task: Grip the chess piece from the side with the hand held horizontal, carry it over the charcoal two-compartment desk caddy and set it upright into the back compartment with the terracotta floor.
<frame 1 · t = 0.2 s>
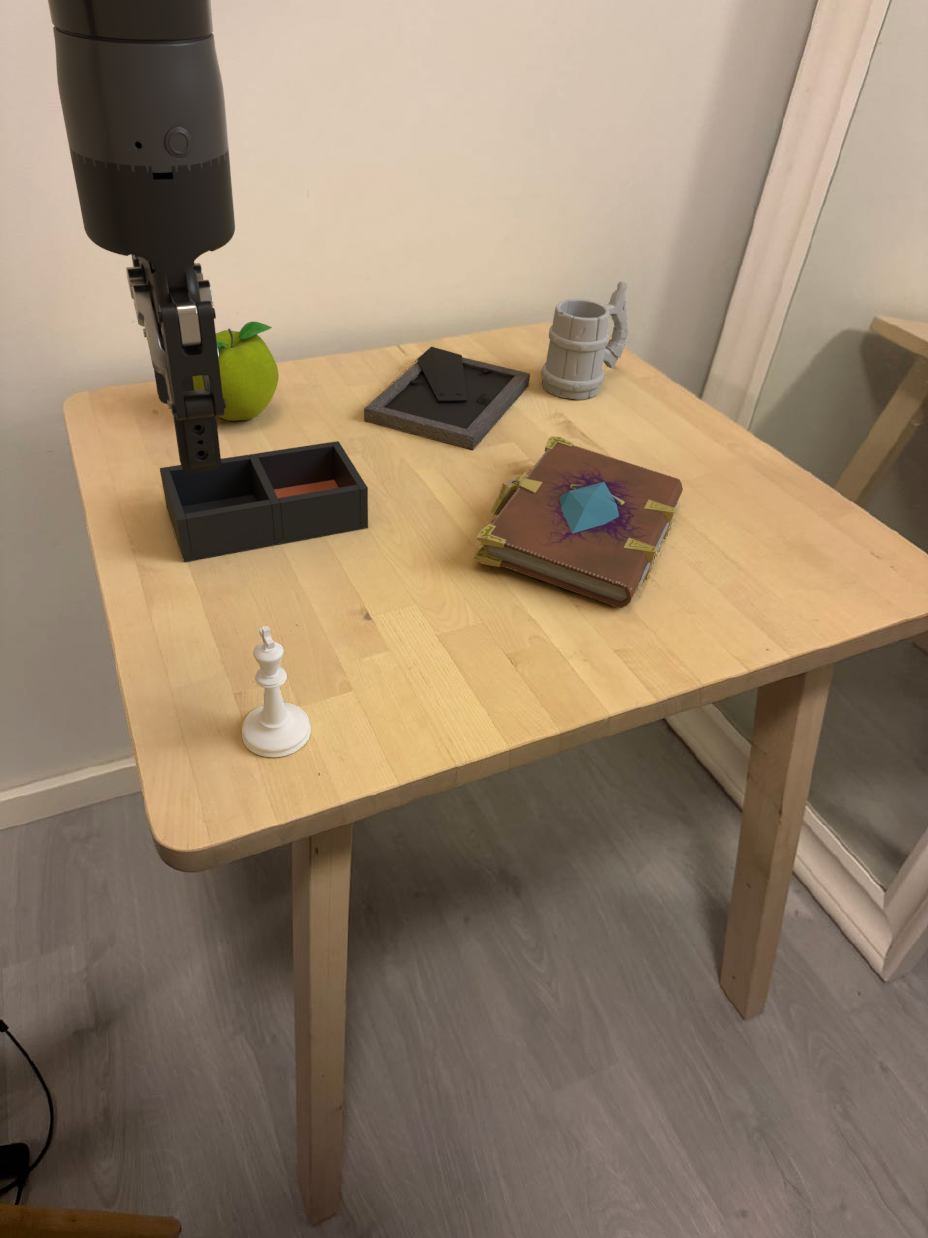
hand: (188, 432, 55), 22 cm above the table, tool pointing down, fingers open, 8 cm apart
mug: (582, 384, 113), on the table
book: (582, 523, 89), on the table
fruit: (239, 415, 101), on the table
picture frame: (450, 403, 107), on the table
caddy: (267, 518, 86), on the table
chess piece: (276, 733, 66), on the table
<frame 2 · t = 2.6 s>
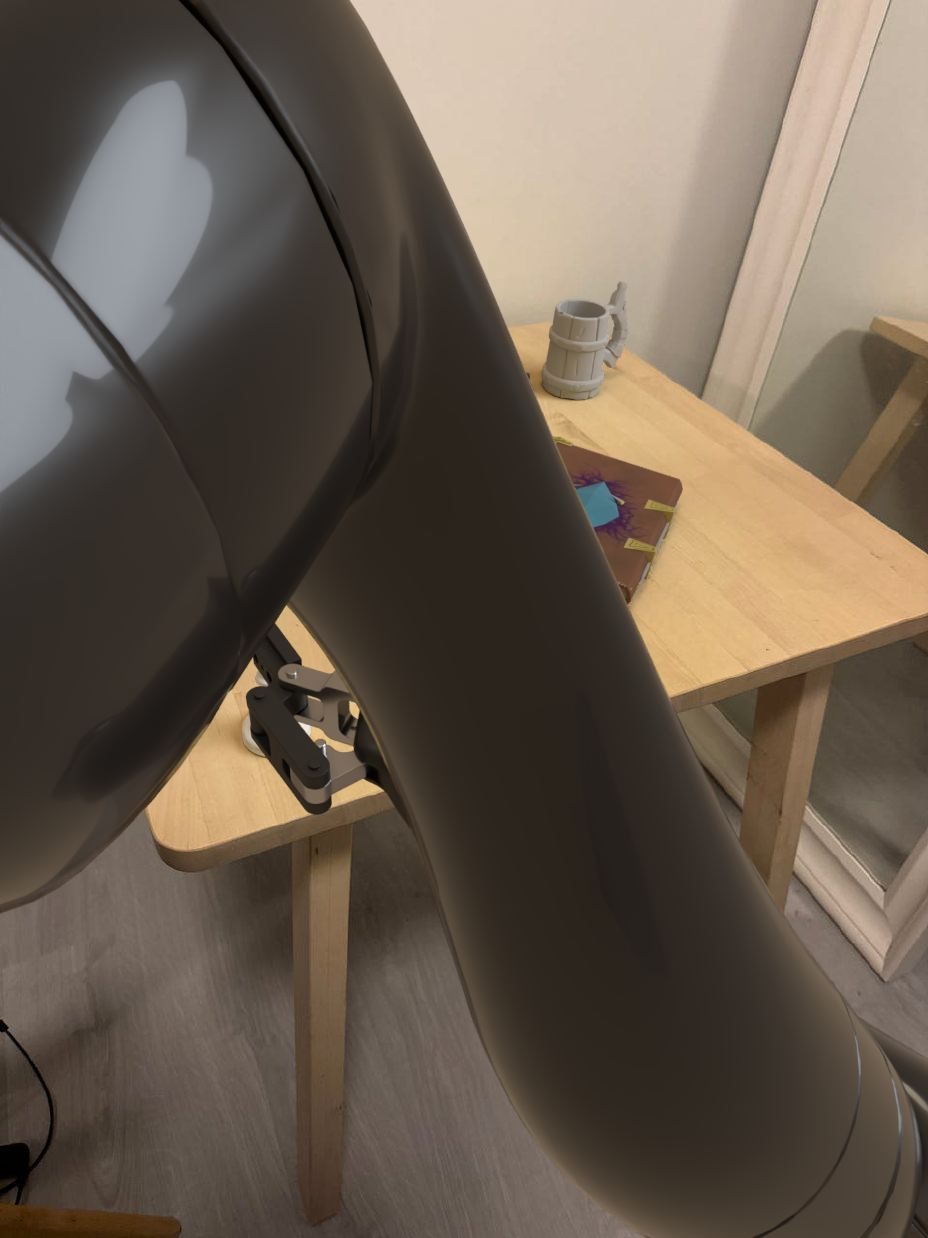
hand: (341, 605, 46), 20 cm above the table, tool horizontal, fingers open, 8 cm apart
nothing on the table moved.
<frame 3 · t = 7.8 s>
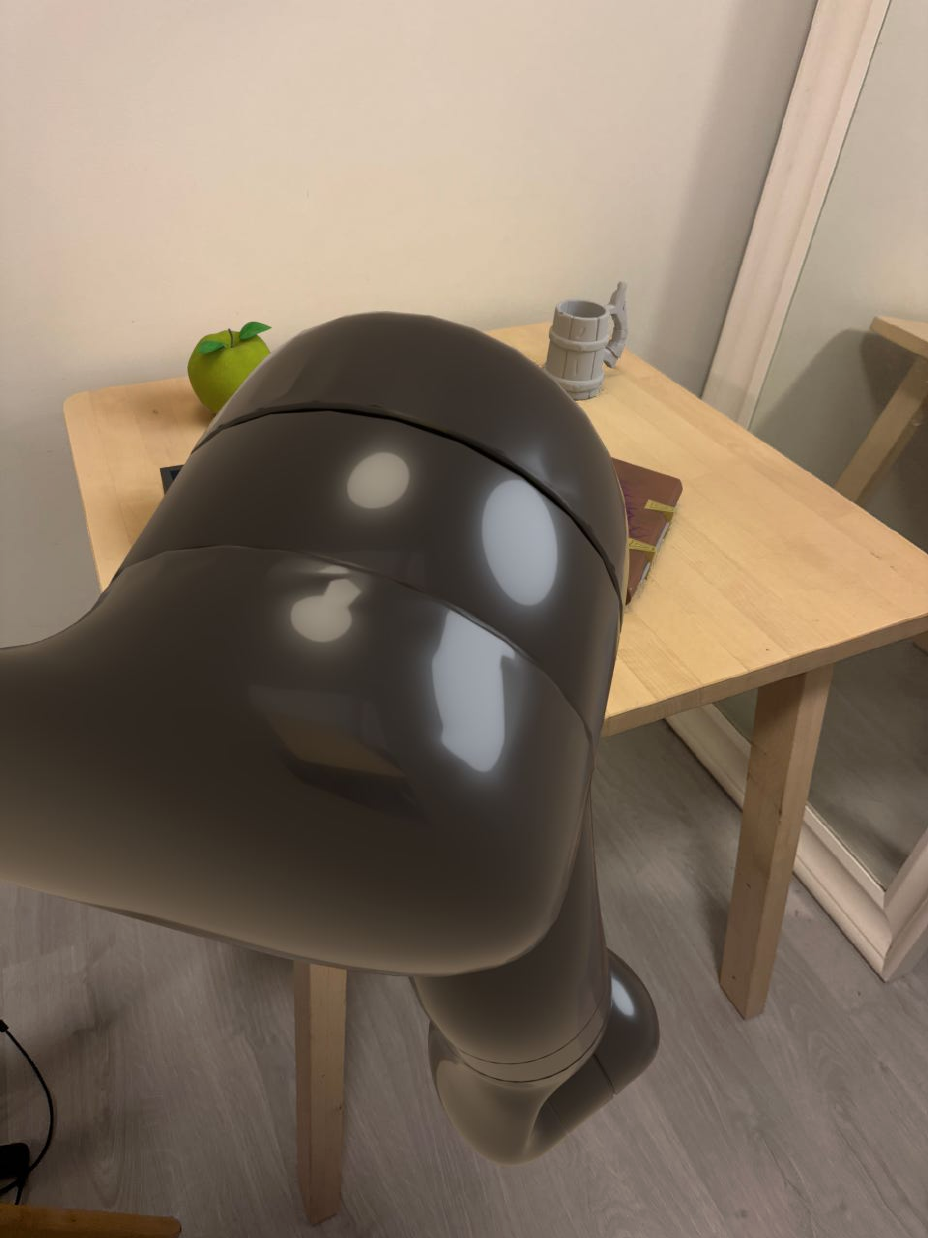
hand: (250, 626, 62), 8 cm above the table, tool horizontal, fingers closed on chess piece
chess piece: (276, 733, 66), on the table, touching gripper
everything else where it was.
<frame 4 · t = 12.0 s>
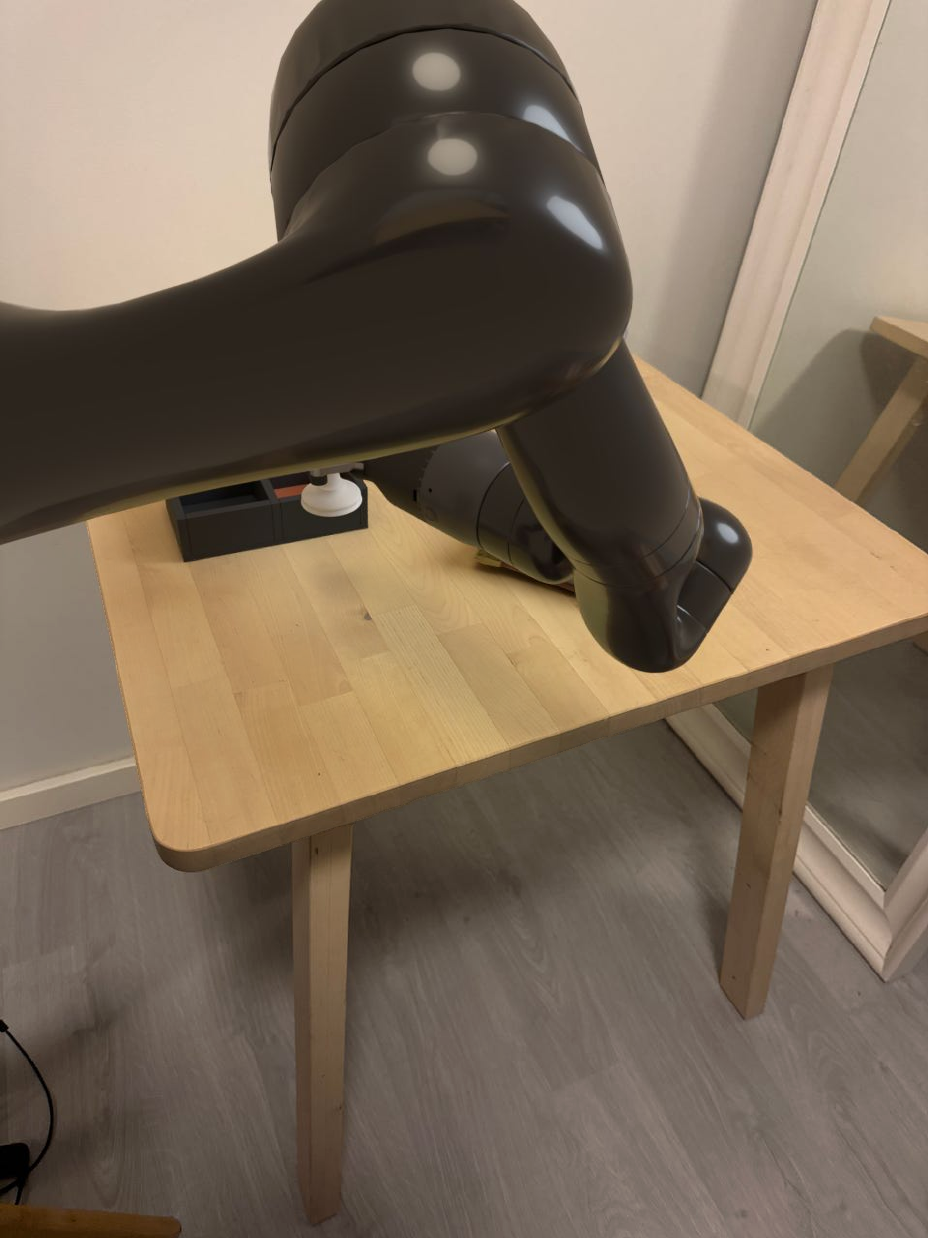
hand: (300, 397, 70), 16 cm above the table, tool horizontal, fingers closed on chess piece
chess piece: (331, 502, 74), point 8 cm above the table, touching gripper
everything else where it was.
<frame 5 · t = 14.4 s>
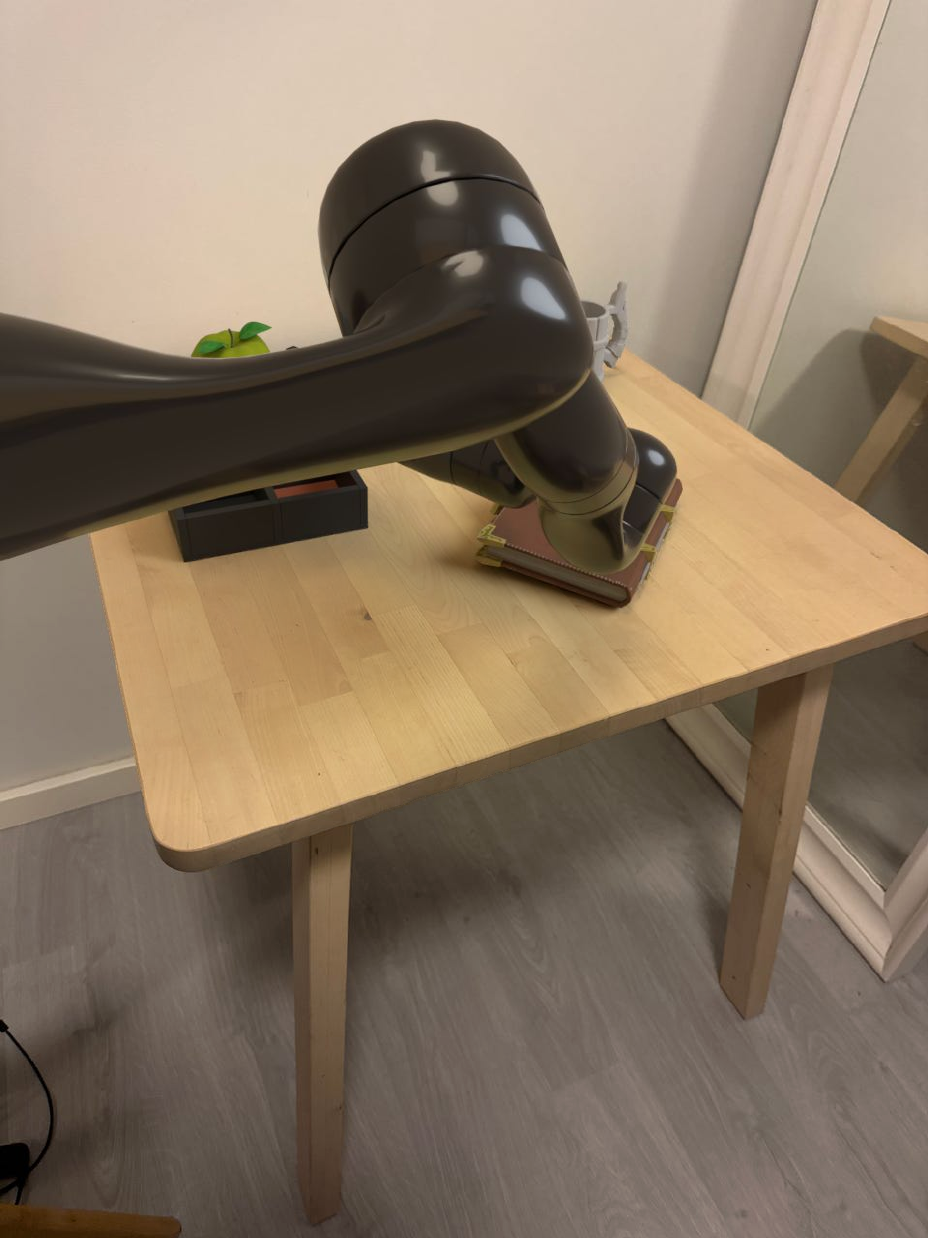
hand: (278, 362, 80), 14 cm above the table, tool horizontal, fingers closed on chess piece
chess piece: (308, 455, 84), point 6 cm above the table, touching gripper
everything else where it was.
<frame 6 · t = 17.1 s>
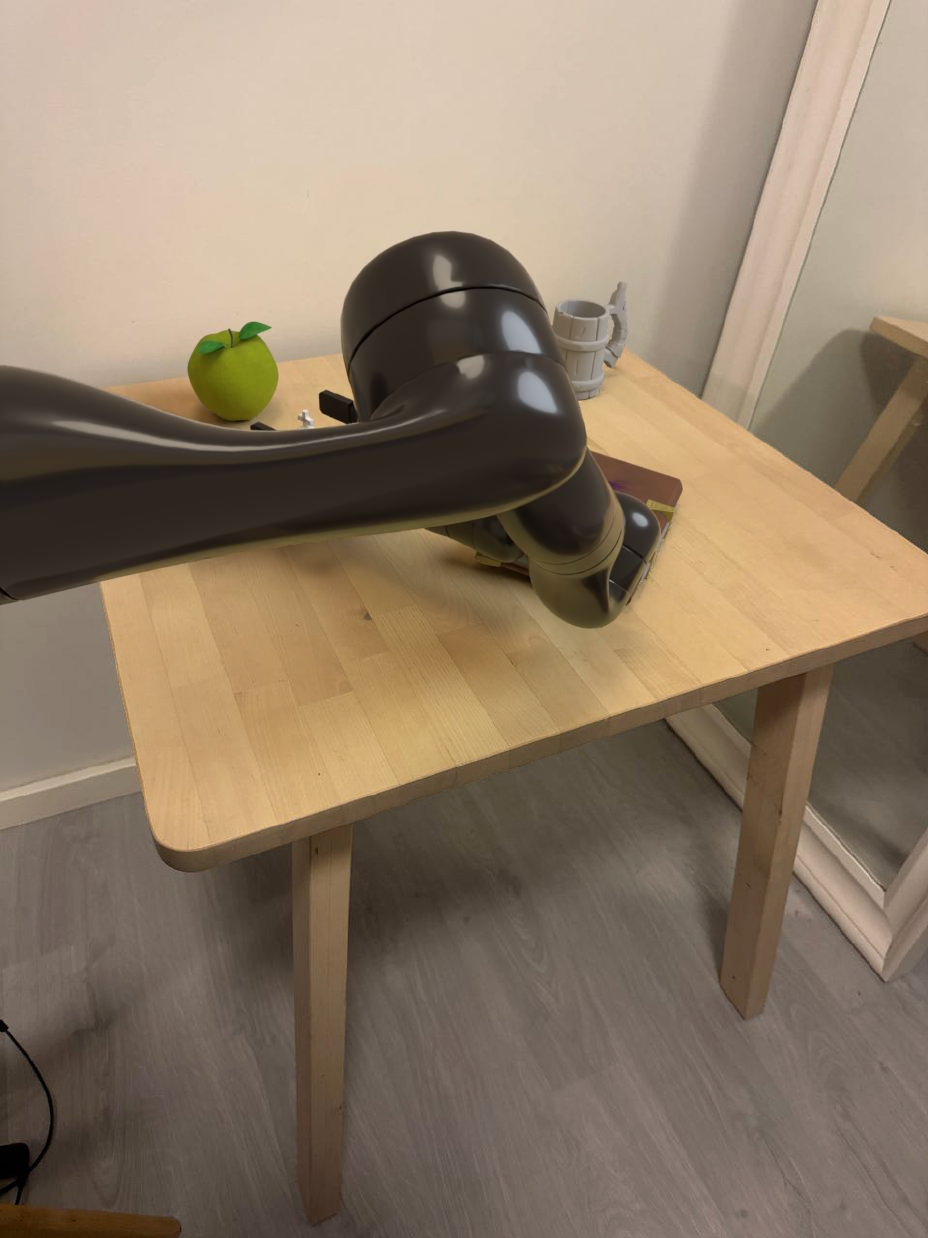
hand: (288, 416, 82), 9 cm above the table, tool horizontal, fingers open, 8 cm apart
chess piece: (310, 507, 87), point 1 cm above the table, touching caddy
everything else where it was.
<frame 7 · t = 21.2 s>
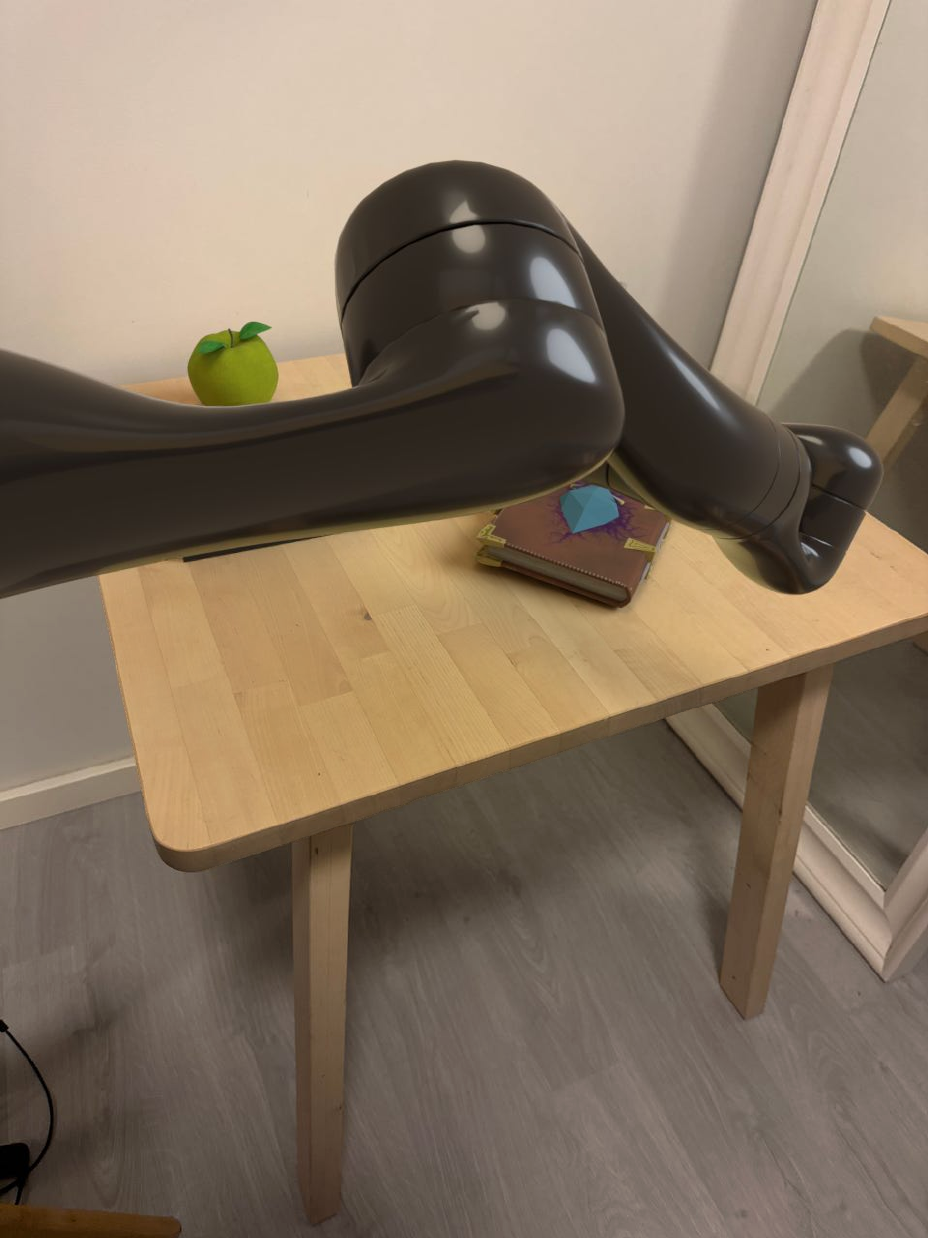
hand: (397, 349, 70), 20 cm above the table, tool horizontal, fingers open, 8 cm apart
nothing on the table moved.
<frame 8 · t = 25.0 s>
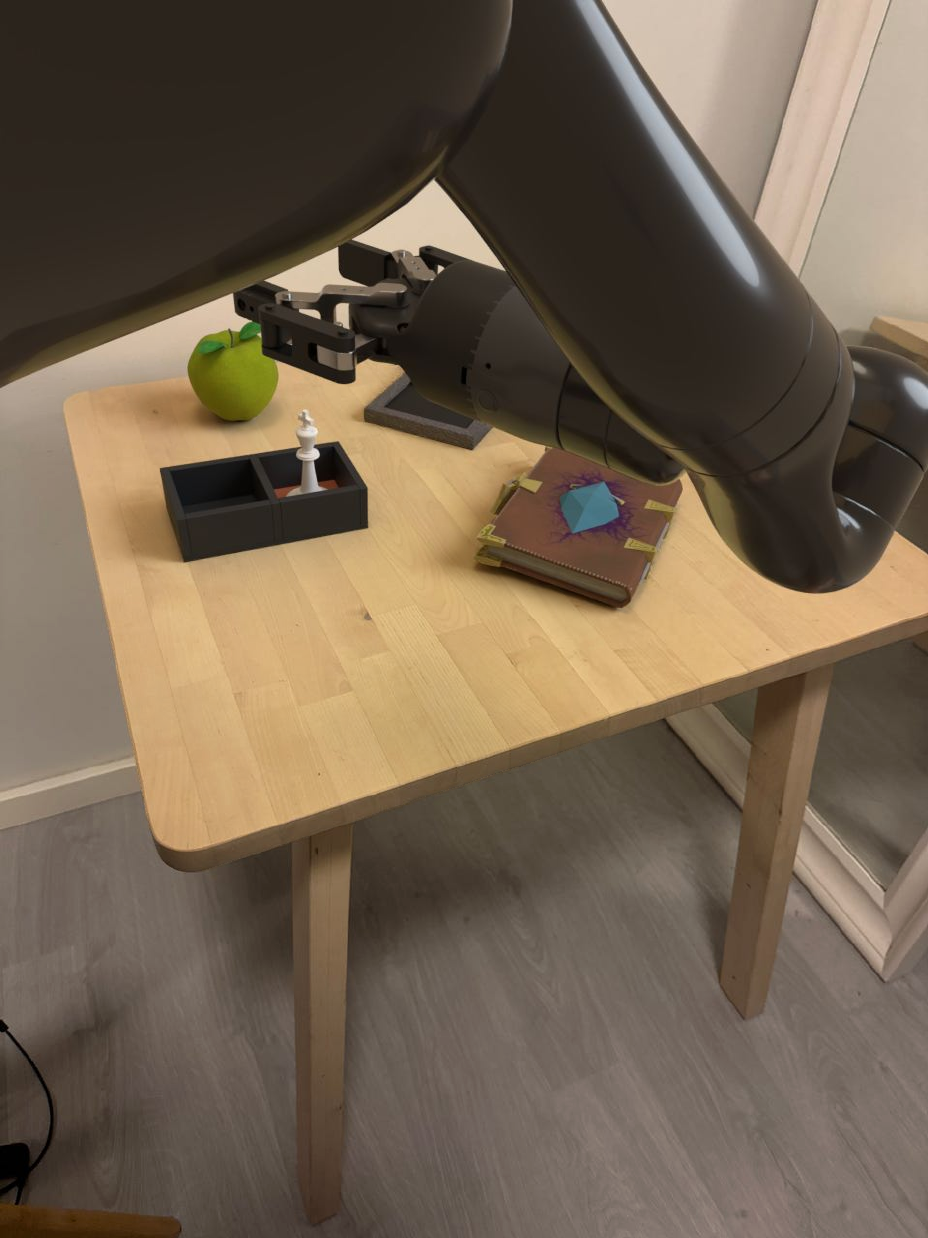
hand: (292, 273, 53), 30 cm above the table, tool horizontal, fingers open, 8 cm apart
nothing on the table moved.
at the end: chess piece inside the target area in the caddy (0.2 cm from its centre), point 0.5 cm above the caddy's base; chess piece tilted 0°; the gripper is holding nothing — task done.
